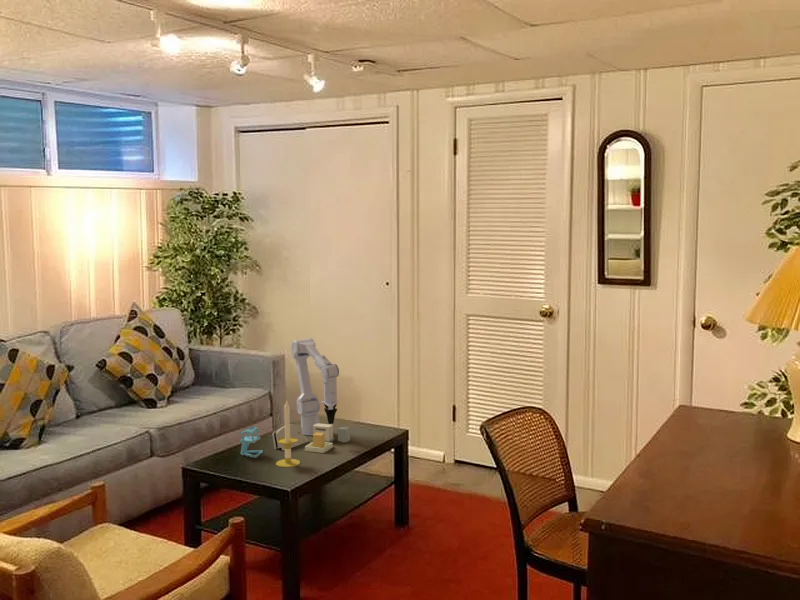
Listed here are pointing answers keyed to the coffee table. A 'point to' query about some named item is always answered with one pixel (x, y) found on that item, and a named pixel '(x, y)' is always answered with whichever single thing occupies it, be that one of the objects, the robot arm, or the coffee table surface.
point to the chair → (248, 440)
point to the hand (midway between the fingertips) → (330, 421)
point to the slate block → (344, 434)
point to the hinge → (294, 433)
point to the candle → (287, 442)
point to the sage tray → (317, 449)
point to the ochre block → (319, 440)
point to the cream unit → (324, 431)
